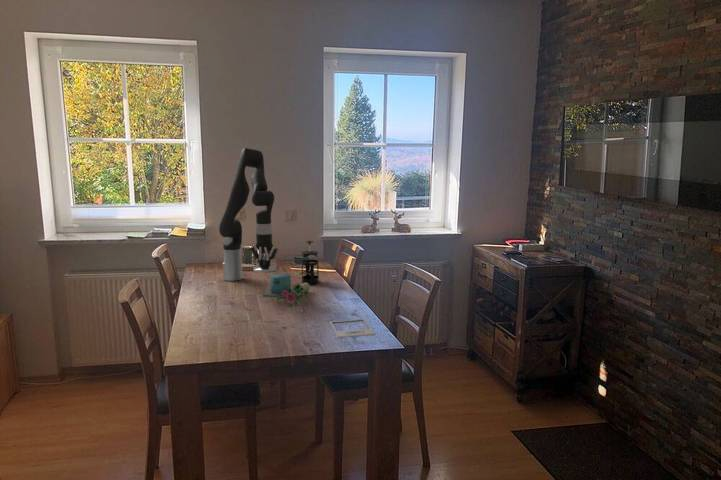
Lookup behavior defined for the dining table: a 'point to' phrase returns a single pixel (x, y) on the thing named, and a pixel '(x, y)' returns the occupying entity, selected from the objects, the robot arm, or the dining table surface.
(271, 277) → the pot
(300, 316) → the dining table surface
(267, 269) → the lid
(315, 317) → the dining table surface
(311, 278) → the french press
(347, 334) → the photo frame
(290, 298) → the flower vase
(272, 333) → the dining table surface
